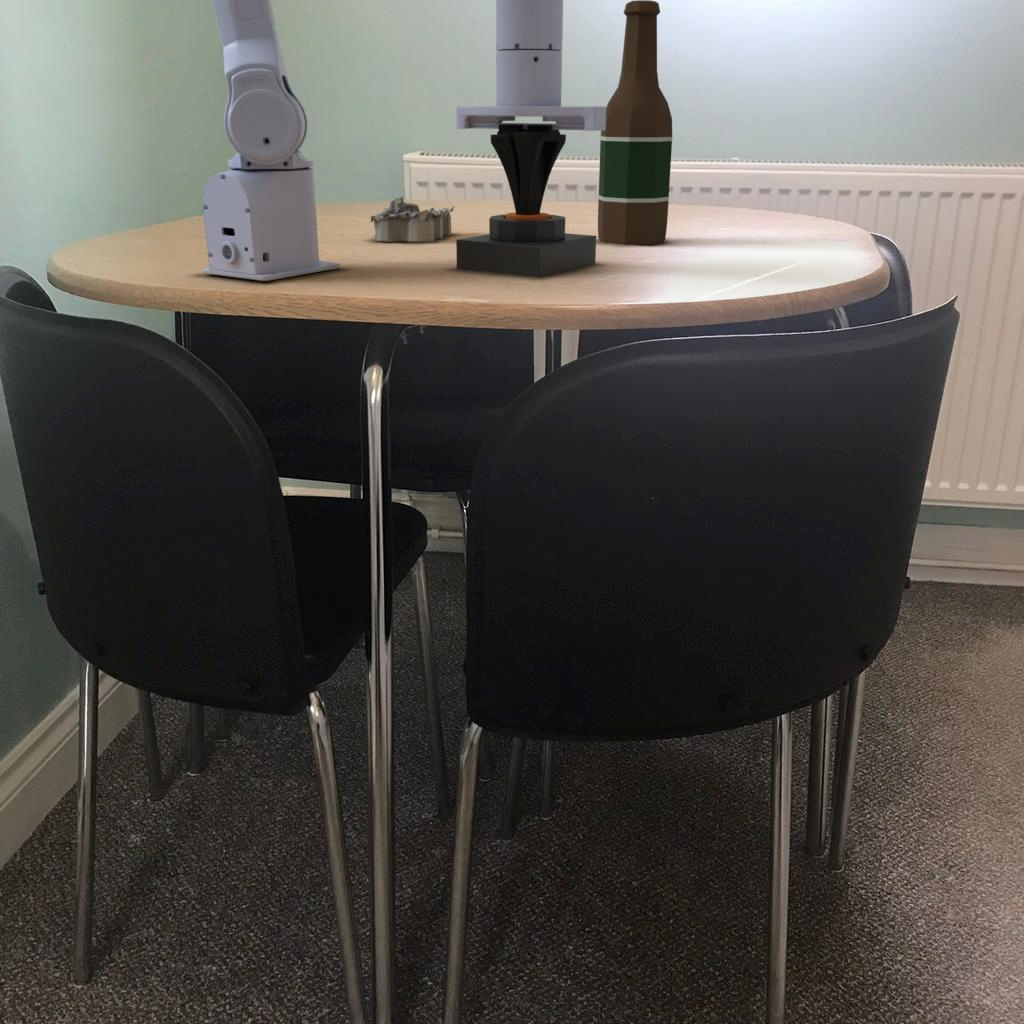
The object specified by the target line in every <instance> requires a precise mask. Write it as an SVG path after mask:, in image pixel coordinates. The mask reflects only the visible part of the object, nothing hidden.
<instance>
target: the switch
mask: <svg viewBox="0 0 1024 1024" xmlns="http://www.w3.org/2000/svg"><path fill="white" fill-rule="evenodd" d="M505 214H506V219H513V220H545V219H549V215H550V214H549V213H547V212H540V214H535V215H516V211H514V212H509V213H508V212H507V213H505Z"/></svg>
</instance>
